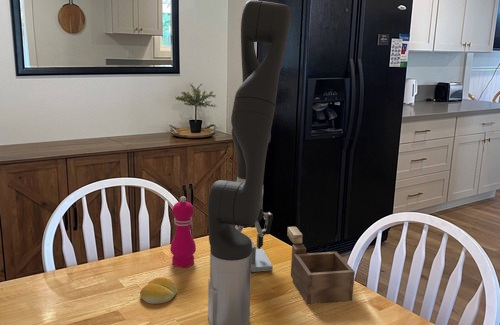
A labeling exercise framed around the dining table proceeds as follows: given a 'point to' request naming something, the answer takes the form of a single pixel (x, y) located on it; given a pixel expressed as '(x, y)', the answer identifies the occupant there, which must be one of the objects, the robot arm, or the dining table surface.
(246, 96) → the robot arm
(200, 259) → the dining table surface
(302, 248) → the toolbox
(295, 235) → the wooden key
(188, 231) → the pepper mill
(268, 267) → the lid
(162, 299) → the bread roll
